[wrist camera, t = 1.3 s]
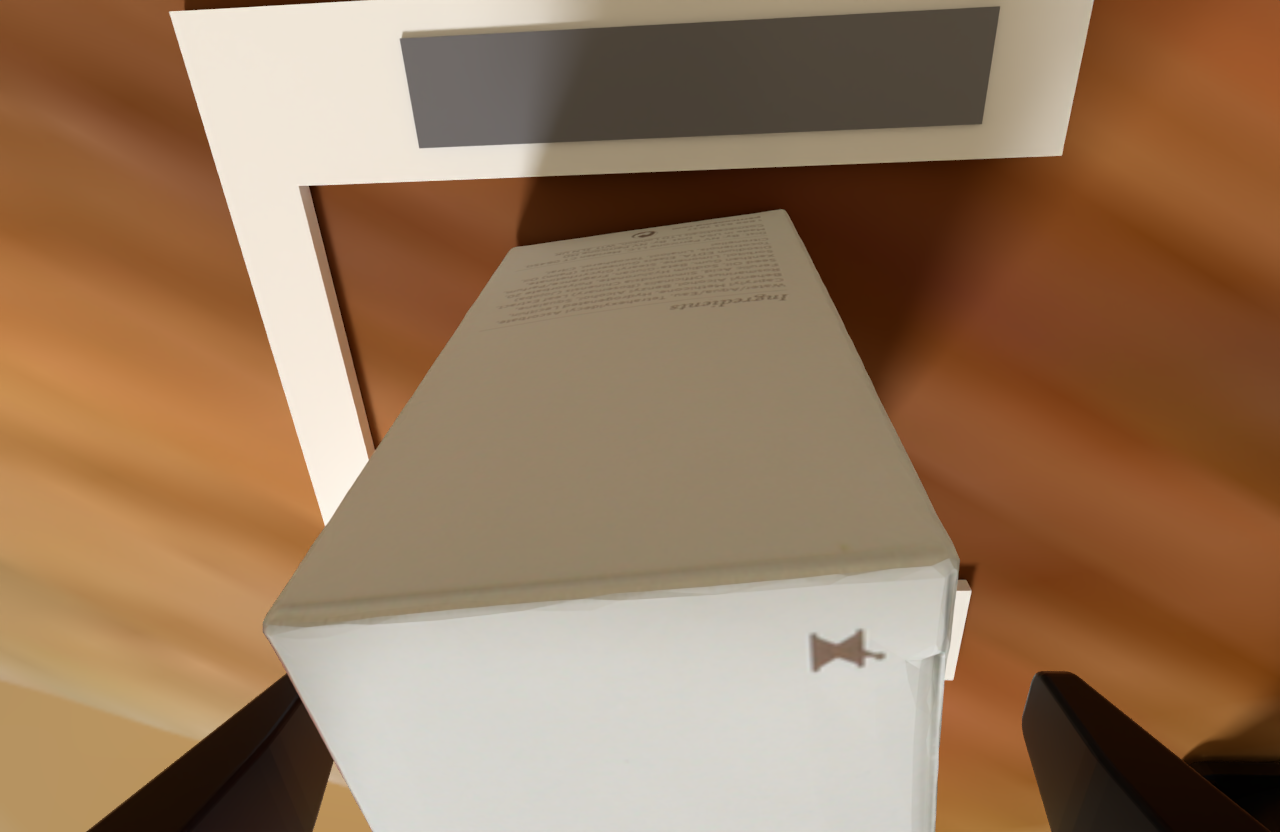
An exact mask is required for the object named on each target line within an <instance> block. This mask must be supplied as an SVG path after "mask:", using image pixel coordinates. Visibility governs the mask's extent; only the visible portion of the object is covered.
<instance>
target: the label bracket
mask: <svg viewBox="0 0 1280 832" xmlns="http://www.w3.org/2000/svg"><path fill="white" fill-rule="evenodd" d="M1093 2H1094V0H364V1H346V2H329V3H312V4H294V5H277V6H260V7H242V8H225V9H207V10H190V11H173V12H169V13H170V16H171V19H172V23H173V26H174V29H175V33H176V36H177V39H178V42H179V46H180V49H181V52H182V56H183V59H184V62H185V66H186V69H187V72H188V75H189V79H190V82H191V85H192V89H193V92H194V95H195V98H196V102H197V105H198V108H199V112H200V115H201V118H202V122H203V125H204V128H205V131H206V135H207V138H208V141H209V145H210V148H211V151H212V155H213V158H214V161H215V164H216V168H217V171H218V174H219V178H220V181H221V184H222V187H223V191H224V194H225V197H226V201H227V204H228V207H229V211H230V214H231V217H232V220H233V224H234V227H235V230H236V234H237V237H238V240H239V244H240V247H241V250H242V253H243V257H244V260H245V263H246V267H247V270H248V273H249V276H250V280H251V283H252V286H253V290H254V293H255V296H256V300H257V303H258V306H259V309H260V313H261V316H262V319H263V323H264V326H265V329H266V332H267V336H268V339H269V342H270V346H271V349H272V352H273V356H274V359H275V362H276V365H277V369H278V372H279V375H280V379H281V382H282V385H283V389H284V392H285V395H286V398H287V402H288V405H289V408H290V412H291V415H292V418H293V421H294V425H295V428H296V431H297V435H298V438H299V441H300V445H301V448H302V451H303V454H304V458H305V461H306V464H307V468H308V471H309V474H310V477H311V481H312V484H313V487H314V491H315V494H316V497H317V501H318V504H319V507H320V510H321V514H322V517H323V520H324V524H325V526H326V525H327V524H328V522H329V521H330V519H331V518H332V516H333V514H334V513H335V511H336V510H337V508H338V506H339V505H340V503H341V502H342V500H343V498H344V497H345V495H346V494H347V492H348V491H349V489H350V488H351V486H352V485H353V483H354V482H355V481H356V479H357V477H358V476H359V474H360V473H361V471H362V470H363V468H364V467H365V465H366V464H367V462H368V461H369V459H370V458H371V456H372V455H373V453H374V452H375V448H374V444H373V440H372V436H371V432H370V428H369V424H368V420H367V416H366V412H365V409H364V405H363V401H362V397H361V393H360V389H359V385H358V381H357V377H356V373H355V369H354V365H353V361H352V357H351V353H350V349H349V345H348V341H347V337H346V333H345V329H344V325H343V321H342V317H341V313H340V309H339V305H338V301H337V297H336V293H335V289H334V285H333V281H332V277H331V273H330V269H329V265H328V261H327V257H326V253H325V249H324V245H323V241H322V237H321V233H320V229H319V225H318V221H317V217H316V213H315V209H314V205H313V201H312V197H311V193H310V189H309V186H312V185H337V184H362V183H388V182H413V181H438V180H463V179H488V178H513V177H539V176H564V175H589V174H614V173H639V172H664V171H690V170H715V169H740V168H765V167H790V166H815V165H841V164H866V163H891V162H916V161H941V160H966V159H992V158H1017V157H1042V156H1062V152H1063V147H1064V142H1065V137H1066V132H1067V128H1068V123H1069V118H1070V113H1071V108H1072V103H1073V99H1074V94H1075V89H1076V84H1077V79H1078V74H1079V70H1080V65H1081V60H1082V55H1083V50H1084V46H1085V41H1086V36H1087V31H1088V26H1089V21H1090V17H1091V12H1092V7H1093ZM970 596H971V589H970V586H969V584H968V582H967V580H958V583H957V591H956V598H955V606H954V615H953V625H952V634H951V643H950V649H949V653H948V658H947V663H946V670H945V678H944V680H953V678H954V673H955V669H956V664H957V659H958V654H959V649H960V644H961V640H962V635H963V630H964V625H965V620H966V615H967V611H968V606H969V601H970Z"/></svg>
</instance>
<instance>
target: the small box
mask: <svg viewBox="0 0 1280 832" xmlns="http://www.w3.org/2000/svg"><path fill="white" fill-rule="evenodd" d="M959 564H960V559H959V557H958V555H957V552H956V550H955V548H954V545H953V543H952V541H951V539H950V537H949V535H948V534H947V532H946V530H945V529H944V527H943V525H942V523H941V522H940V520H939V518H938V516H937V514H936V512H935V510H934V508H933V506H932V504H931V502H930V500H929V498H928V495H927V493H926V491H925V489H924V487H923V485H922V483H921V481H920V479H919V477H918V475H917V473H916V471H915V469H914V467H913V465H912V463H911V461H910V459H909V457H908V455H907V453H906V451H905V449H904V447H903V445H902V443H901V441H900V439H899V437H898V435H897V433H896V431H895V429H894V427H893V425H892V423H891V421H890V419H889V417H888V415H887V413H886V411H885V409H884V407H883V405H882V403H881V401H880V399H879V397H878V395H877V393H876V391H875V388H874V386H873V384H872V382H871V379H870V377H869V375H868V374H867V372H866V370H865V367H864V365H863V363H862V360H861V358H860V356H859V354H858V353H857V350H856V348H855V346H854V344H853V342H852V340H851V338H850V336H849V335H848V333H847V331H846V328H845V326H844V324H843V321H842V319H841V317H840V315H839V313H838V311H837V309H836V307H835V305H834V303H833V301H832V299H831V298H830V296H829V294H828V291H827V289H826V287H825V285H824V284H823V282H822V280H821V278H820V275H819V273H818V272H817V270H816V268H815V266H814V264H813V262H812V260H811V258H810V256H809V254H808V252H807V250H806V248H805V245H804V243H803V242H802V240H801V238H800V237H799V235H798V233H797V231H796V229H795V227H794V225H793V223H792V221H791V219H790V217H789V215H788V214H787V212H786V211H785V210H783V209H779V210H772V211H766V212H760V213H753V214H746V215H739V216H731V217H724V218H717V219H710V220H703V221H696V222H689V223H681V224H674V225H667V226H660V227H653V228H646V229H639V230H631V231H624V232H617V233H610V234H604V235H597V236H590V237H584V238H577V239H569V240H562V241H555V242H548V243H542V244H535V245H528V246H519V247H514V248H512V249H511V250H510V251H509V252H508V253H507V255H506V256H505V258H504V260H503V261H502V262H501V264H500V265H499V267H498V268H497V270H496V271H495V273H494V274H493V276H492V277H491V279H490V280H489V282H488V283H487V285H486V286H485V287H484V289H483V290H482V292H481V293H480V295H479V297H478V298H477V300H476V301H475V303H474V304H473V305H472V307H471V308H470V309H469V311H468V312H467V314H466V315H465V317H464V319H463V320H462V322H461V324H460V325H459V327H458V328H457V330H456V331H455V333H454V334H453V336H452V337H451V339H450V340H449V341H448V343H447V344H446V346H445V347H444V349H443V351H442V352H441V353H440V355H439V356H438V358H437V359H436V361H435V362H434V364H433V365H432V366H431V368H430V369H429V371H428V372H427V374H426V376H425V377H424V379H423V380H422V382H421V383H420V385H419V386H418V388H417V389H416V391H415V393H414V394H413V396H412V397H411V398H410V400H409V401H408V402H407V404H406V405H405V407H404V408H403V410H402V411H401V413H400V414H399V416H398V417H397V419H396V420H395V422H394V423H393V425H392V426H391V428H390V429H389V431H388V432H387V434H386V435H385V437H384V438H383V440H382V441H381V443H380V444H379V446H378V447H377V449H376V450H375V452H374V453H373V455H372V456H371V458H370V459H369V461H368V462H367V464H366V465H365V467H364V468H363V470H362V471H361V473H360V474H359V476H358V477H357V479H356V481H355V482H354V483H353V485H352V486H351V488H350V489H349V491H348V492H347V494H346V495H345V497H344V498H343V500H342V502H341V503H340V505H339V506H338V508H337V510H336V511H335V513H334V514H333V516H332V518H331V519H330V521H329V522H328V524H327V525H326V526H325V528H324V529H323V530H322V532H321V533H320V535H319V536H318V537H317V539H316V540H315V542H314V543H313V545H312V546H311V548H310V549H309V551H308V553H307V554H306V556H305V557H304V559H303V560H302V562H301V563H300V565H299V566H298V568H297V570H296V571H295V573H294V574H293V576H292V577H291V579H290V580H289V582H288V583H287V585H286V586H285V588H284V589H283V591H282V592H281V594H280V595H279V597H278V598H277V600H276V601H275V603H274V604H273V606H272V607H271V608H270V610H269V611H268V613H267V614H266V617H265V619H264V621H263V633H264V635H265V636H266V638H267V639H268V641H269V642H270V644H271V646H272V647H273V649H274V651H275V653H276V654H277V656H278V658H279V660H280V661H281V663H282V665H283V667H284V669H285V671H286V672H287V674H288V676H289V678H290V680H291V682H292V684H293V685H294V687H295V689H296V691H297V693H298V695H299V697H300V698H301V700H302V702H303V704H304V706H305V708H306V710H307V711H308V713H309V715H310V717H311V719H312V721H313V723H314V724H315V726H316V728H317V730H318V732H319V734H320V736H321V737H322V739H323V741H324V743H325V745H326V747H327V749H328V750H329V752H330V754H331V756H332V758H333V760H334V762H335V764H336V766H337V768H338V770H339V771H340V773H341V775H342V777H343V778H344V780H345V782H346V783H347V785H348V787H349V789H350V791H351V793H352V795H353V797H354V799H355V801H356V802H357V804H358V806H359V808H360V810H361V811H362V813H363V815H364V817H365V819H366V821H367V822H368V824H369V826H370V828H371V830H372V832H935V823H936V804H937V779H938V759H939V745H940V734H941V721H942V708H943V692H944V678H945V670H946V663H947V658H948V653H949V649H950V643H951V634H952V625H953V615H954V606H955V598H956V591H957V583H958V574H959Z"/></svg>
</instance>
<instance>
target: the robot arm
mask: <svg viewBox="0 0 1280 832" xmlns="http://www.w3.org/2000/svg"><path fill="white" fill-rule="evenodd" d="M1022 730H1023V736H1024V740H1025V743H1026V746H1027V750H1028V753H1029V757H1030V760H1031V763H1032V767H1033V770H1034V774H1035V777H1036V780H1037V784H1038V787H1039V791H1040V794H1041V797H1042V801H1043V804H1044V808H1045V811H1046V814H1047V818H1048V821H1049V825H1050V828H1051V832H1280V762H1217V761H1203V762H1196V763H1193V764H1190V765H1188V764H1186V763H1185V762H1184V761H1183V760H1181V759H1180V758H1179V757H1178V756H1176V755H1175V754H1174V753H1173V752H1171V751H1170V750H1169V749H1168V748H1166V747H1165V746H1164V745H1163V744H1161V743H1160V742H1159V741H1158V740H1157V739H1155V738H1154V737H1153V736H1152V735H1150V734H1149V733H1148V732H1147V731H1145V730H1144V729H1143V728H1142V727H1140V726H1139V725H1138V724H1137V723H1135V722H1134V721H1133V720H1132V719H1130V718H1129V717H1128V716H1127V715H1125V714H1124V713H1123V712H1122V711H1121V710H1119V709H1118V708H1117V707H1116V706H1114V705H1113V704H1112V703H1111V702H1109V701H1108V700H1107V699H1106V698H1104V697H1103V696H1102V695H1101V694H1099V693H1098V692H1097V691H1096V690H1094V689H1093V688H1092V687H1091V686H1089V685H1088V684H1087V683H1086V682H1085V681H1083V680H1082V679H1081V678H1080V677H1078V676H1077V675H1075V674H1073V673H1071V672H1065V671H1041V672H1038V673H1036V674H1035V675H1034V677H1033V679H1032V682H1031V686H1030V690H1029V693H1028V697H1027V701H1026V704H1025V708H1024V712H1023V716H1022ZM333 761H334V760H333V758H332V756H331V754H330V752H329V750H328V749H327V747H326V745H325V743H324V741H323V739H322V737H321V736H320V734H319V732H318V730H317V728H316V726H315V724H314V723H313V721H312V719H311V717H310V715H309V713H308V711H307V710H306V708H305V706H304V704H303V702H302V700H301V698H300V697H299V695H298V693H297V691H296V689H295V687H294V685H293V684H292V682H291V680H290V678H289V676H288V674H287V673H286V674H285V675H284V676H283V677H281V678H280V679H279V680H277V681H276V682H275V683H274V684H272V685H271V686H270V687H269V688H267V689H266V690H265V691H264V692H262V693H261V694H260V695H259V696H257V697H256V698H255V699H253V700H252V701H251V702H250V703H248V704H247V705H246V706H245V707H243V708H242V709H241V710H240V711H238V712H237V713H236V714H234V715H233V716H232V717H231V718H229V719H228V720H227V721H226V722H224V723H223V724H222V725H221V726H219V727H218V728H217V729H216V730H214V731H213V732H212V733H210V734H209V735H208V736H207V737H205V738H204V739H203V740H202V741H200V742H199V743H198V744H197V745H195V746H194V747H193V748H192V749H191V750H189V751H188V752H186V753H185V754H184V755H183V756H181V757H180V758H179V759H178V760H176V761H175V762H174V763H173V764H171V765H170V766H169V767H167V768H166V769H165V770H164V771H163V772H161V773H160V774H159V775H157V776H156V777H155V778H154V779H152V780H151V781H150V782H149V783H147V784H146V785H145V786H144V787H142V788H141V789H140V790H138V791H137V792H136V793H135V794H133V795H132V796H131V797H130V798H128V799H127V800H126V801H125V802H123V803H122V804H121V805H119V806H118V807H117V808H116V809H114V810H113V811H112V812H111V813H109V814H108V815H107V816H106V817H104V818H103V819H102V820H101V821H99V822H98V823H97V824H95V825H94V826H93V827H92V828H91V829H89V830H88V831H87V832H313V828H314V826H315V822H316V819H317V816H318V813H319V809H320V805H321V802H322V799H323V795H324V792H325V788H326V785H327V782H328V778H329V775H330V772H331V768H332V765H333Z"/></svg>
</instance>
